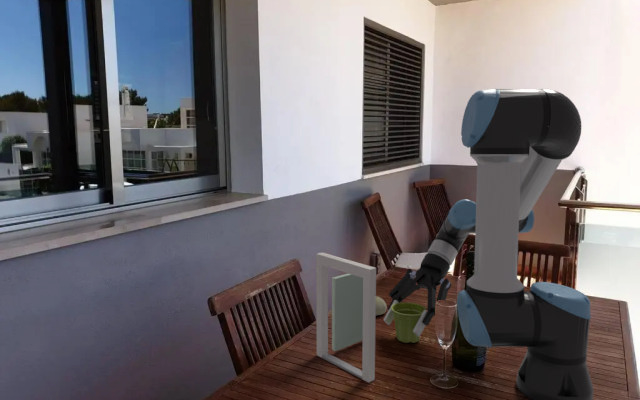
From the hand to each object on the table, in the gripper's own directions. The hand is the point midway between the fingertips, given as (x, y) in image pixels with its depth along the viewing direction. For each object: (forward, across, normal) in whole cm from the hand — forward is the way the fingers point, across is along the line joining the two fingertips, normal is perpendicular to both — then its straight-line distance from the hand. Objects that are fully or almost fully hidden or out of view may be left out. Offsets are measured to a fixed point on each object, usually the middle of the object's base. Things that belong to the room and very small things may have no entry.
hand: (400, 328), depth 133 cm
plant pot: (+1, 0, -5) cm, 5 cm away
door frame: (+17, 0, +12) cm, 21 cm away
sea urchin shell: (-4, +20, -10) cm, 23 cm away
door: (+10, +7, +6) cm, 14 cm away
